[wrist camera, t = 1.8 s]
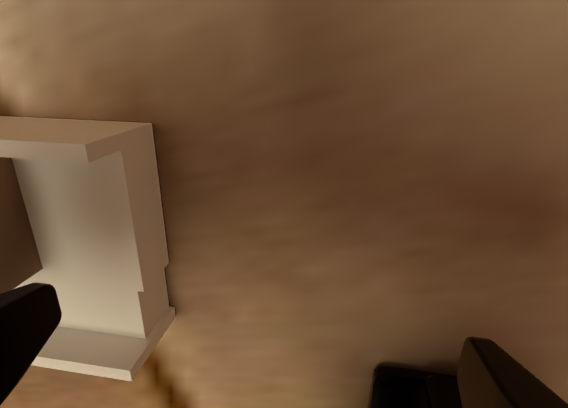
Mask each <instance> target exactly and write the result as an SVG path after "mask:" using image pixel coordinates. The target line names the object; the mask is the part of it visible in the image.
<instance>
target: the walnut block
mask: <svg viewBox="0 0 568 408" xmlns="http://www.w3.org/2000/svg"><path fill="white" fill-rule="evenodd" d="M42 269H43V267H42V263H41V260H40V256H39V253H38V249H37V246H36V242H35V239H34V235H33V232H32V228H31V224H30V221H29V217H28V214H27V210H26V207H25V203H24V200H23V196H22V193H21V189H20V186H19V182H18V179H17V175H16V171H15V168H14V164H13V161H12V158H7V157H0V294H1V293H4V292H7V291H10V290H12V289H14V288H15V287H17V286H18V285H20V284H21V283H23V282H24V281H26V280H27V279H29V278H30V277H31V276H33V275H34V274H36V273H37V272H39V271H40V270H42Z"/></svg>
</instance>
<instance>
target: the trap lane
mask: <svg viewBox="0 0 568 408" xmlns="http://www.w3.org/2000/svg"><path fill="white" fill-rule="evenodd" d="M0 157H7V158H12V161H13V164H14V168H15V171H16V175H17V179H18V182H19V186H20V189H21V193H22V196H23V200H24V203H25V207H26V210H27V214H28V217H29V221H30V224H31V228H32V232H33V235H34V239H35V242H36V246H37V249H38V253H39V256H40V260H41V263H42V267H43V269H42V270H40V271H39V272H37V273H36V274H34V275H33V276H31V277H30V278H29V279H27V280H26V281H24V282H23V283H21V284H20V285H18V286H17V287H15V288H14V289H16V288H18V287H21V286H24V285H27V284H30V283H35V282H36V283H46V284H51V285H53V287H54V288H55V290H56V293H57V297H58V300H59V304H60V308H61V311H62V317H61V321H60V323H59V325H58V326H57V328H56V329H55V331H54V332H53V334H52V335H51V336H50V338H49V339H48V341H47V342H46V344H45V345H44V347H43V348H42V349H41V351H40V352H39V354H38V355H37V357H36V358H35V360H34V361H33V362H32V364H31V365H34V366H40V367H46V368H52V369H58V370H65V371H71V372H77V373H83V374H89V375H95V376H102V377H108V378H114V379H120V380H126V381H133V379H134V378H135V376H136V375H137V373H138V372H139V370H140V369H141V367H142V366H143V364H144V363H145V361H146V360H147V358H148V357H149V355H150V354H151V352H152V351H153V349H154V348H155V346H156V345H157V343H158V342H159V340H160V339H161V337H162V336H163V334H164V333H165V331H166V330H167V328H168V327H169V325H170V324H171V322H172V321H173V319H174V318H175V316H176V315H175V307H171V306H169V301H168V293H167V286H166V278H165V270H164V268H165V267H166V266H167V265H168V264H169V258H168V250H167V242H166V234H165V226H164V218H163V210H162V201H161V193H160V185H159V177H158V169H157V161H156V153H155V145H154V137H153V129H152V123H141V122H120V121H99V120H78V119H56V118H35V117H14V116H0ZM12 290H13V289H12Z"/></svg>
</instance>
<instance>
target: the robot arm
mask: <svg viewBox="0 0 568 408" xmlns="http://www.w3.org/2000/svg"><path fill="white" fill-rule="evenodd" d="M61 317H62V311H61V308H60V304H59V300H58V297H57V293H56V290H55V288H54V287H53V285H51V284H46V283H36V282H35V283H30V284H27V285H24V286H21V287H18V288H16V289H13V290H10V291H7V292H4V293H1V294H0V405H1V404H2V403H3V402H4V400H5V399H6V398H7V397H8V395H9V394H10V393H11V392H12V390H13V389H14V388H15V386H16V385H17V384H18V382H19V381H20V380H21V378H22V377H23V375H24V374H25V373H26V371H27V370H28V368H29V367H30V365H31V364H32V362H33V361H34V360H35V358H36V357H37V355H38V354H39V352H40V351H41V349H42V348H43V347H44V345H45V344H46V342H47V341H48V339H49V338H50V336H51V335H52V334H53V332H54V331H55V329H56V328H57V326H58V325H59V323H60V321H61ZM383 379H388V380H383ZM368 408H568V404H567V403H566V402H565V401H564V400H562V399H561V398H560V397H559V396H558V395H556V394H555V393H554V392H553V391H552V390H551V389H549V388H548V387H547V386H546V385H545V384H543V383H542V382H541V381H540V380H539V379H537V378H536V377H535V376H534V375H533V374H531V373H530V372H529V371H528V370H527V369H525V368H524V367H523V366H522V365H521V364H520V363H518V362H517V361H516V360H515V359H514V358H512V357H511V356H510V355H509V354H508V353H506V352H505V351H504V350H503V349H502V348H500V347H499V346H498V345H497V344H496V343H494V342H493V341H492V340H490V339H486V338H478V337H468V338H466V340H465V342H464V345H463V349H462V352H461V356H460V360H459V364H458V368H457V376H452V375H445V374H438V373H431V372H424V371H416V370H409V369H402V368H395V367H388V366H382V367H379V368H377V369H376V370H375V371H374V373H373V378H372V385H371V391H370V398H369V404H368Z"/></svg>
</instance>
